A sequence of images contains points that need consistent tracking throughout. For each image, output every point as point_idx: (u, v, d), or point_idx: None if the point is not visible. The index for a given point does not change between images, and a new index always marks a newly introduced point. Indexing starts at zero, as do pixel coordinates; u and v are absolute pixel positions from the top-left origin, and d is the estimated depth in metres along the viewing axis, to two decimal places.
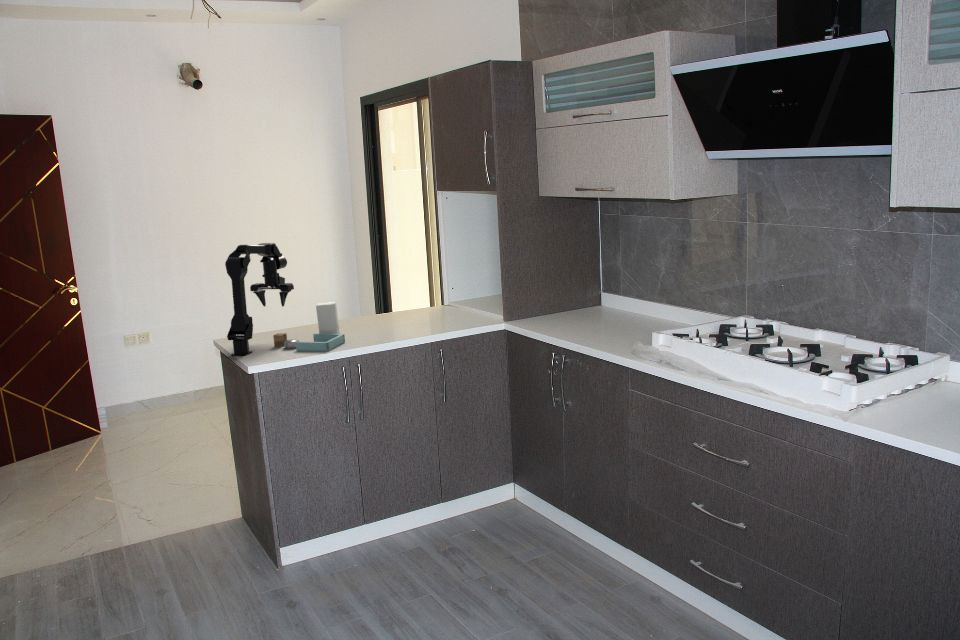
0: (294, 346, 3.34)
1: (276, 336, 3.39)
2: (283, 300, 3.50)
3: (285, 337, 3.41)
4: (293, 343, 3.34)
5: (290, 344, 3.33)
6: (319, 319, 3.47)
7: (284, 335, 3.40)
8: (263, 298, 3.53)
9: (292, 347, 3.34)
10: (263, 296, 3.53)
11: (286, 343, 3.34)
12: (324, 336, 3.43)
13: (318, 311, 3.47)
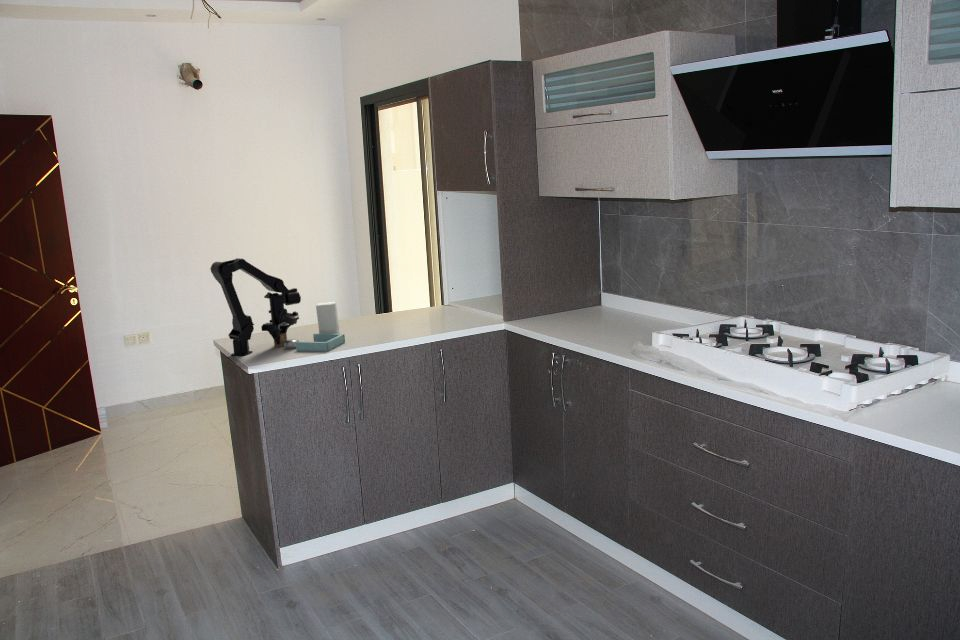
0: (294, 346, 3.34)
1: None
2: (274, 338, 3.38)
3: (285, 337, 3.41)
4: (293, 343, 3.34)
5: (290, 344, 3.33)
6: (319, 319, 3.47)
7: (284, 334, 3.40)
8: None
9: (292, 347, 3.34)
10: (282, 331, 3.43)
11: (286, 343, 3.34)
12: (324, 336, 3.43)
13: (318, 311, 3.47)
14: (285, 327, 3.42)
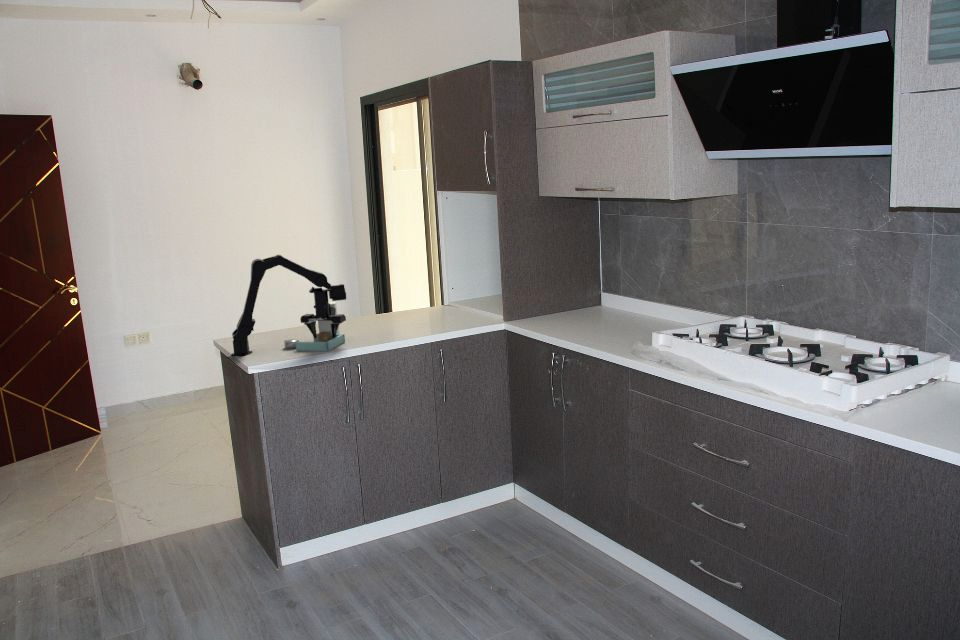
0: (294, 346, 3.34)
1: (328, 334, 3.38)
2: (334, 332, 3.37)
3: None
4: (293, 343, 3.34)
5: (290, 344, 3.33)
6: None
7: None
8: (314, 329, 3.40)
9: (292, 347, 3.34)
10: (314, 327, 3.40)
11: (286, 343, 3.34)
12: None
13: None
14: (314, 323, 3.41)
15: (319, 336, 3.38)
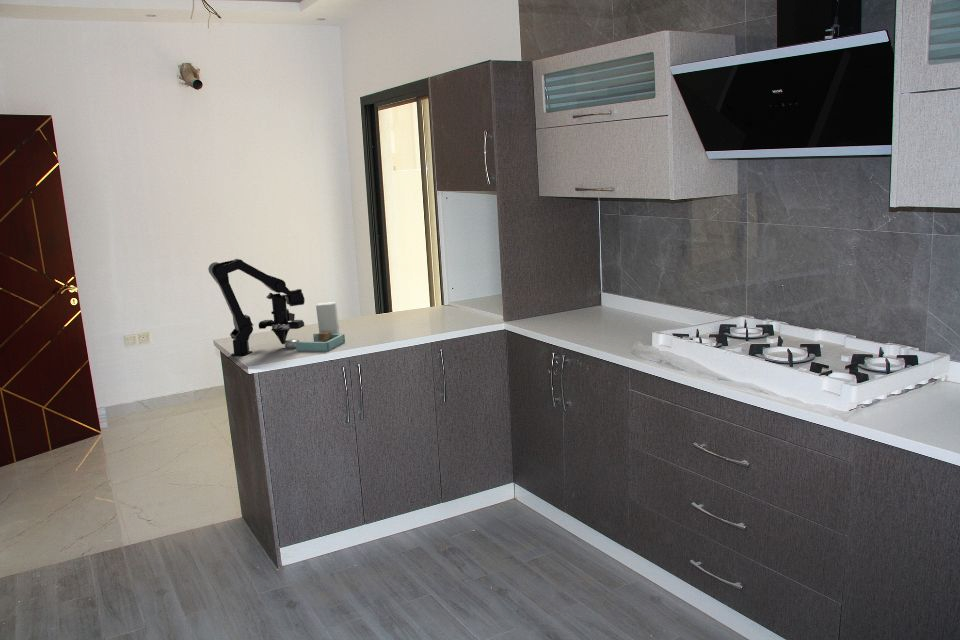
0: (294, 346, 3.34)
1: (328, 334, 3.38)
2: (284, 338, 3.36)
3: None
4: (293, 343, 3.34)
5: (290, 344, 3.33)
6: (319, 319, 3.47)
7: None
8: None
9: (292, 347, 3.34)
10: None
11: (286, 343, 3.34)
12: None
13: (318, 311, 3.47)
14: (282, 328, 3.38)
15: (319, 336, 3.38)
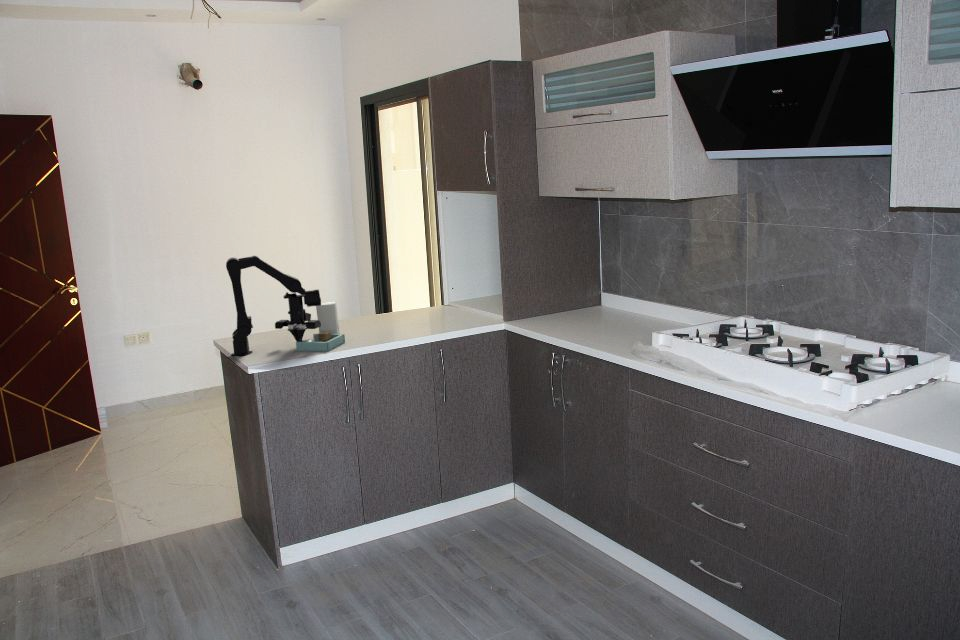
0: None
1: (328, 334, 3.38)
2: (300, 338, 3.34)
3: None
4: None
5: None
6: (319, 319, 3.47)
7: None
8: None
9: None
10: None
11: None
12: None
13: (318, 311, 3.47)
14: (298, 328, 3.36)
15: (319, 336, 3.38)
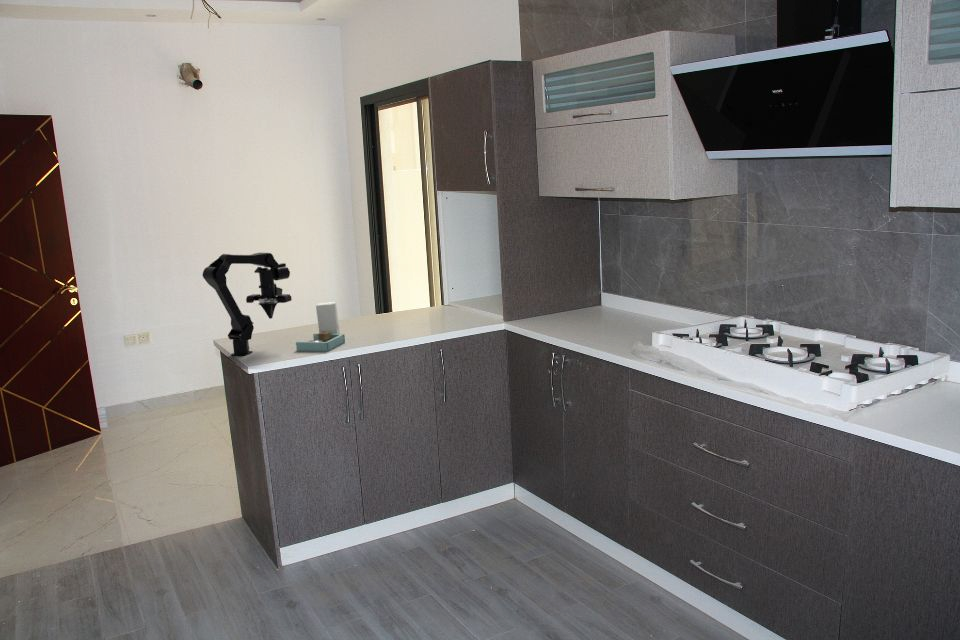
0: None
1: (328, 334, 3.38)
2: (271, 312, 3.37)
3: None
4: None
5: None
6: (319, 319, 3.47)
7: None
8: None
9: None
10: None
11: None
12: None
13: (318, 311, 3.47)
14: (269, 303, 3.39)
15: (319, 336, 3.38)
